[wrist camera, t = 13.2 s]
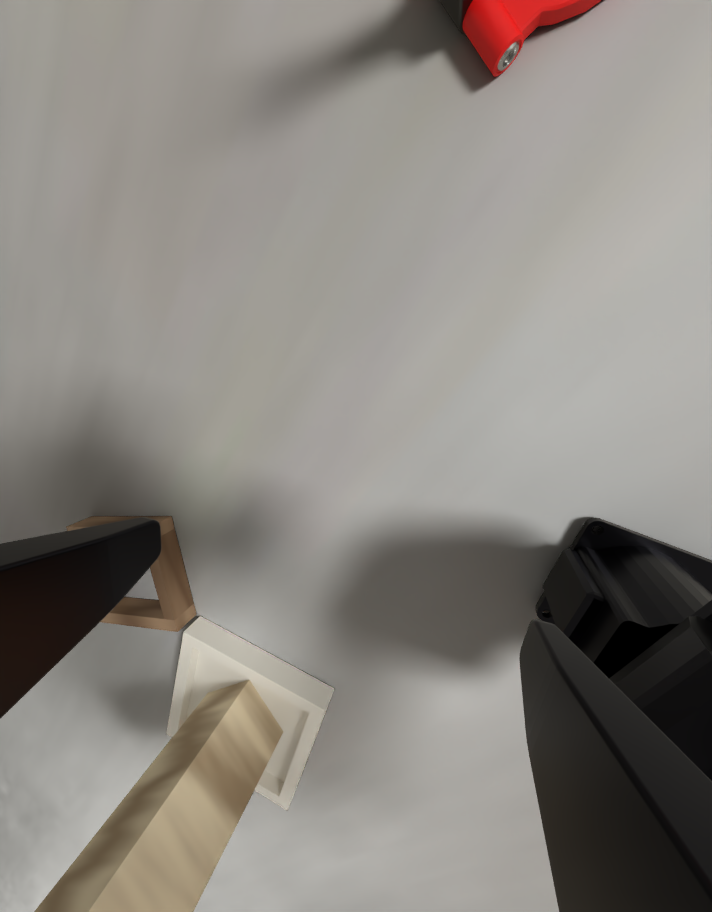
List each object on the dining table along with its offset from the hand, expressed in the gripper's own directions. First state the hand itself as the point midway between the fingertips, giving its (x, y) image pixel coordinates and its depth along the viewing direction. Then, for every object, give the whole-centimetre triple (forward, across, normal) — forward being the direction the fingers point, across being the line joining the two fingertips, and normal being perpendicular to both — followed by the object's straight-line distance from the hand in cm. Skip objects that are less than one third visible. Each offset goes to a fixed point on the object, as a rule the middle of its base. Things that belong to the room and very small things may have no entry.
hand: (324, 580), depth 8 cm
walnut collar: (+14, +19, +14) cm, 27 cm away
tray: (+13, +8, +24) cm, 28 cm away
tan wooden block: (+12, +8, +24) cm, 28 cm away
